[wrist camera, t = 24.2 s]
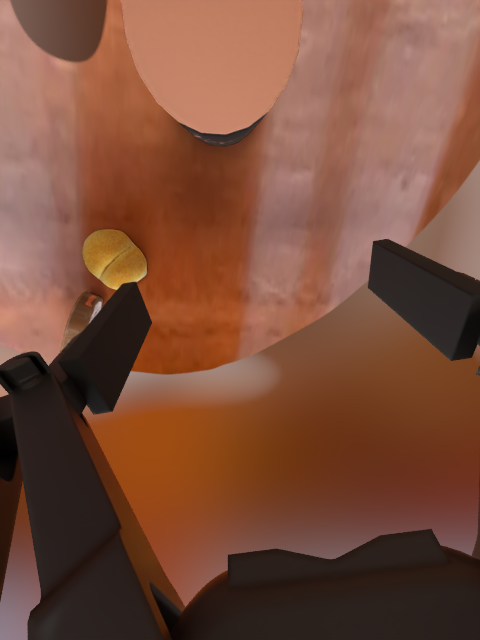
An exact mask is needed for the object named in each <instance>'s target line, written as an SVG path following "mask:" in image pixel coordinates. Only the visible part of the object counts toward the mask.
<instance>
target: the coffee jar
mask: <svg viewBox="0 0 480 640" xmlns="http://www.w3.org/2000/svg"><path fill="white" fill-rule="evenodd" d="M121 5H122V13H123V22H124V30H125V37H126V40H127V43H128V46H129V49H130V51H131V54H132V57H133V60H134V63H135V66H136V69H137V71H138V74H139V75H140V77H141V78H142V80H143V82H144V83H145V85H146V86H147V88H148V89H149V91H150V93H151V94H152V96H153V97H154V99H155V100H156V102H157V103H158V104H159V105H160V106H161V107H163V108H164V109H165V110H166V111H167V112H168V113H169V114H170V115H171V116H172V117H173V118H174V119H176V120H177V121H178V122H179V123H180V124H181V125H182V126H183V127H184V128H186V129H187V130H188V131H189V132H190V133H191V134H193V135H194V136H195V137H196V138H197V139H198V140H201V141H203V142H205V143H207V144H209V145H212V146H228V145H231V144H234V143H237V142H239V141H240V140H242V139H243V138H244V137H246V136H247V135H248V134H249V133H250V132H251V131H252V130H253V129H254V128H255V127H256V126H257V124H258V123H259V122H260V121H261V120H262V119H263V118H264V116H265V115H266V114H267V112H268V111H269V110H270V109H271V107H272V106H273V105H274V103H275V102H276V100H277V99H278V97H279V96H280V94H281V93H282V91H283V90H284V89H285V87H286V86H287V83H288V80H289V77H290V74H291V72H292V69H293V66H294V63H295V61H296V58H297V55H298V51H299V43H300V34H301V26H302V18H303V9H302V0H121Z"/></svg>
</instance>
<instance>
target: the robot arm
mask: <svg viewBox="0 0 480 640" xmlns="http://www.w3.org/2000/svg"><path fill="white" fill-rule="evenodd" d="M368 288H369V289H370V290H371V291H372V292H373V293H375V294H376V295H377V296H378V297H379V298H380V299H382V301H384V302H385V303H386V304H387V305H388V306H389V307H390V308H392V309H393V310H394V311H395V312H396V313H397V314H398V315H400V316H401V317H402V318H403V319H404V320H405V321H406V322H407V323H409V324H410V325H411V326H412V327H413V328H414V329H416V330H417V331H418V332H419V333H420V334H421V335H422V336H423V337H425V338H426V339H427V340H428V341H429V342H430V343H431V344H432V345H434V346H435V347H436V348H437V349H438V350H439V351H440V352H442V353H443V354H444V355H445V356H446V357H447V358H449V359H450V360H451V361H453V360H460V359H466V358H472V356H473V354H474V351H475V349H476V346H477V344H478V345H479V346H480V281H479V280H475V278H473V277H471V276H468V275H466V274H464V273H460V272H456V271H454V270H452V269H449V268H447V267H445V266H443V265H441V264H439V263H437V262H435V261H433V260H431V259H429V258H426V257H424V256H422V255H420V254H418V253H416V252H414V251H412V250H410V249H408V248H406V247H403V246H401V245H399V244H397V243H395V242H393V241H391V240H389V239H384V240H378V241H373V247H372V256H371V265H370V274H369V283H368ZM151 324H152V321H151V319H150V316H149V314H148V311H147V309H146V306H145V303H144V301H143V298H142V296H141V293H140V291H139V288H138V286H137V283H136V281H135V282H129V283H123V284H122V285H121V286H120V287H119V288H118V289H117V291H116V292H115V293H114V294H113V295H112V297H111V298H110V299H109V300H108V301H107V303H106V304H105V305H104V306H103V307H102V309H101V310H100V311H99V312H98V314H97V315H96V316H95V317H94V318H93V320H92V321H91V322H90V323H89V324H88V326H87V327H86V328H85V329H84V330H83V331H81V332H80V333H79V334H77V335H76V336H75V337H73V338H72V339H71V340H70V342H69V343H68V344H67V346H66V347H64V349H63V350H62V351H61V353H59V354H58V356H57V357H56V358H55V359H54V360H53V361H52V363H51V364H50V365H49V366H48V365H47V364H46V362H45V361H44V359H43V358H42V357H41V355H40V354H39V353H38V352H27V353H23V354H20V355H18V356H15V357H13V358H11V359H9V360H7V361H6V362H4V363H3V364H2V365H0V384H1V385H2V387H3V388H4V389H5V390H6V391H7V392H8V393H9V395H6V396H3V397H0V600H1V595H2V590H3V584H4V579H5V573H6V568H7V563H8V557H9V552H10V546H11V541H12V535H13V530H14V525H15V519H16V513H17V509H18V503H19V498H20V493H21V487H22V482H23V483H24V489H25V496H26V502H27V508H28V514H29V520H30V526H31V533H32V538H33V545H34V551H35V556H36V562H37V569H38V575H39V581H40V588H41V600H40V603H39V604H38V605H37V606H36V607H35V608H34V609H33V610H32V611H31V612H30V616H29V620H28V640H480V479H479V517H478V518H479V519H478V535H477V541H476V544H475V547H474V551H473V553H472V556H470V555H468V554H466V553H463V552H461V551H458V550H454V549H452V548H448V547H445V546H441V545H440V544H439V542H438V540H437V538H436V537H435V535H434V533H433V531H432V529H427V530H420V531H412V532H404V533H396V534H388V535H381V536H378V537H377V538H375V539H373V540H371V541H369V542H367V543H365V544H363V545H361V546H359V547H357V548H356V549H354V550H352V551H350V552H348V553H346V554H344V555H342V556H340V557H338V558H336V559H324V558H319V557H315V556H310V555H305V554H300V553H295V552H290V551H285V550H280V549H270V550H262V551H255V552H247V553H239V554H231V555H228V570H227V571H225V572H223V573H221V574H220V575H218V576H217V577H215V578H214V579H213V580H211V581H210V582H209V583H207V584H206V585H205V586H204V587H203V588H202V589H201V590H200V591H199V592H198V593H197V594H196V596H195V597H194V598H193V599H192V600H191V601H190V602H189V604H188V605H187V606H186V608H185V606H184V605H183V602H182V601H181V599H180V597H179V595H178V594H177V592H176V590H175V589H174V587H173V586H172V584H171V583H170V581H169V580H168V578H167V576H166V574H165V573H164V571H163V569H162V567H161V565H160V563H159V561H158V559H157V557H156V555H155V553H154V551H153V550H152V547H151V545H150V543H149V542H148V540H147V538H146V536H145V534H144V532H143V530H142V528H141V526H140V524H139V522H138V520H137V518H136V516H135V514H134V512H133V510H132V508H131V506H130V504H129V502H128V500H127V498H126V496H125V494H124V492H123V490H122V489H121V486H120V484H119V482H118V481H117V479H116V477H115V475H114V473H113V471H112V469H111V467H110V465H109V463H108V461H107V459H106V457H105V455H104V453H103V451H102V449H101V447H100V445H99V443H98V441H97V439H96V437H95V435H94V433H93V432H92V429H91V427H90V425H89V424H88V422H87V420H86V418H85V417H84V415H83V414H82V412H83V410H84V408H85V406H86V405H87V406H88V407H89V408H90V410H91V411H92V413H93V414H100V413H107V412H112V411H113V409H114V407H115V404H116V402H117V400H118V398H119V396H120V393H121V391H122V389H123V387H124V384H125V382H126V380H127V378H128V376H129V373H130V371H131V369H132V367H133V364H134V362H135V360H136V358H137V355H138V353H139V351H140V349H141V346H142V344H143V342H144V340H145V338H146V335H147V333H148V331H149V329H150V326H151ZM476 375H480V366H479V369H478V371H477V373H476Z"/></svg>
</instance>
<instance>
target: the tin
mask: <svg viewBox="0 0 480 640" xmlns="http://www.w3.org/2000/svg"><path fill="white" fill-rule="evenodd" d="M102 306H103V299H102V298H101V297H99V296H97V295H94V294H91V293H88V292H87V291H85V292H83V293H82V294H81V296H80V297H79V298H78V300H77V302H76V303H75V305H74V307H73V309H72V311H71V313H70V316H69V319H68V321H67V324H66V328H65V332H64V337H63V341H62V346H61V351H62V350H63V349H64V347H66V346H67V344H68V343H69V342H70V340H71V339H72V338H73V337H75V336H76V335H77V334H79V333H80V332H81V331H83V330H84V329H85V328H86V327H87V326H88V324H89V323H90V322H91V321H92V320H93V318H94V317H95V316H96V315H97V314H98V312H99V311H100V310H101V309H102ZM61 351H60V353H61Z"/></svg>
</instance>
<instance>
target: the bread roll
mask: <svg viewBox="0 0 480 640" xmlns="http://www.w3.org/2000/svg"><path fill="white" fill-rule="evenodd" d="M82 253H83V259H84V262H85V264H86V266H87V268H88V270H89V271H90V272H91V273H92V274H93V275H94V276H96V277H97V278H98V279H100V280H101V281H102V282H103V283H104V284H105V285H106V286H108V287H110V288H113V289H118V288H119V287H120V286H121V285H122V284H123V283H129V282H135V281H136V282H137V281H139V280H140V279H142V278H143V277H144V276H145V275H146V274H147V262H146V259H145V257H144V255H143V253H142V252H141V250H140V249H139V248H138V247H136V246H135V245H134V243H133V242H132V241H131V240H130V239H129V237H128V236H127V235H126V234H125V233H123V232H122V231H119V230H114V229H103V230H98V231H95V232H93V233H92V234H91V235H90V236H89V237H88V238H87V239H86V240H85V242H84V245H83V251H82Z"/></svg>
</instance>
